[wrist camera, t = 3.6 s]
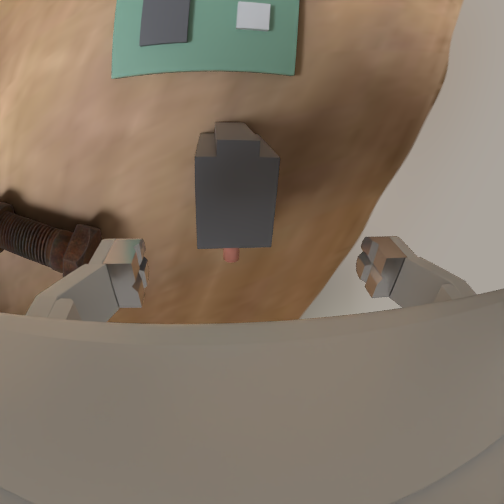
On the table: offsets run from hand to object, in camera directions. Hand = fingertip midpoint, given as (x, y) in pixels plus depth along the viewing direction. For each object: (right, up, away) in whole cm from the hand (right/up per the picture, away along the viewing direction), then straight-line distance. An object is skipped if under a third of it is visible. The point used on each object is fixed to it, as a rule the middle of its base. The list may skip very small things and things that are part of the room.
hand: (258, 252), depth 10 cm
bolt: (-20, +3, +9) cm, 22 cm away
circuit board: (-3, +20, 0) cm, 21 cm away
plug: (-2, +6, +10) cm, 12 cm away
